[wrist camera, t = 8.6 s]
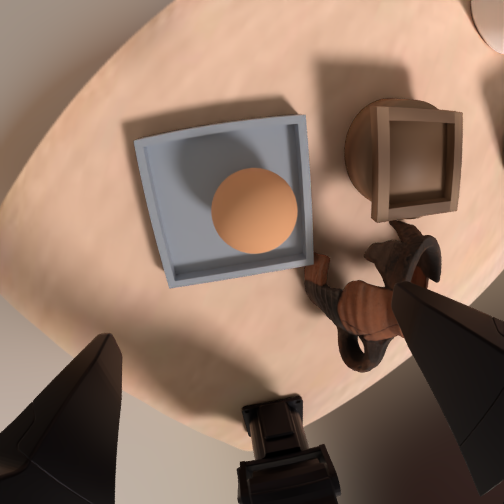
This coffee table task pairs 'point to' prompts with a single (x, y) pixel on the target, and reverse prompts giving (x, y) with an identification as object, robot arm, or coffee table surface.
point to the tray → (205, 185)
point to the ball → (254, 210)
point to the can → (490, 22)
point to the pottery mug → (374, 294)
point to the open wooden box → (406, 158)
